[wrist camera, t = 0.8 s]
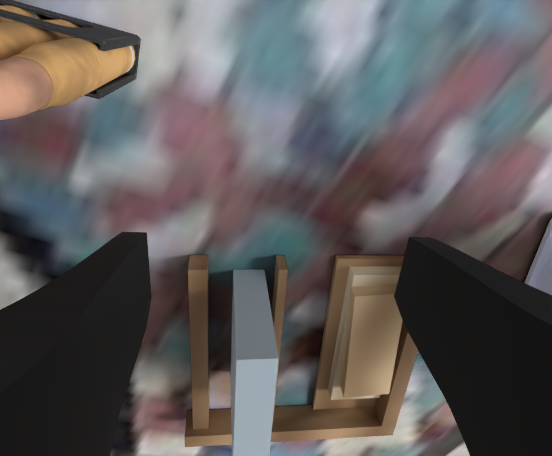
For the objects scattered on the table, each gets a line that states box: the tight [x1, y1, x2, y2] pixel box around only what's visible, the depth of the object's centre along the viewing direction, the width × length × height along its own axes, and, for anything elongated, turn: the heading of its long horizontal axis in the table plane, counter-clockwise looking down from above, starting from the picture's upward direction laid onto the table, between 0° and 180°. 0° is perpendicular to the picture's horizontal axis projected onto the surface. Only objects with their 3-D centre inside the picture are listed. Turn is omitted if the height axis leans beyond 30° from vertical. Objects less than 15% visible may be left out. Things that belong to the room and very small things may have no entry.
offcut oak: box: [340, 284, 403, 398], centre depth 25 cm, size 3×8×1 cm, turn 0°
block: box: [230, 270, 279, 456], centre depth 22 cm, size 2×8×7 cm, turn 176°
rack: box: [185, 255, 418, 447], centre depth 26 cm, size 14×14×2 cm
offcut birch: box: [328, 266, 402, 400], centre depth 26 cm, size 3×10×1 cm, turn 176°
